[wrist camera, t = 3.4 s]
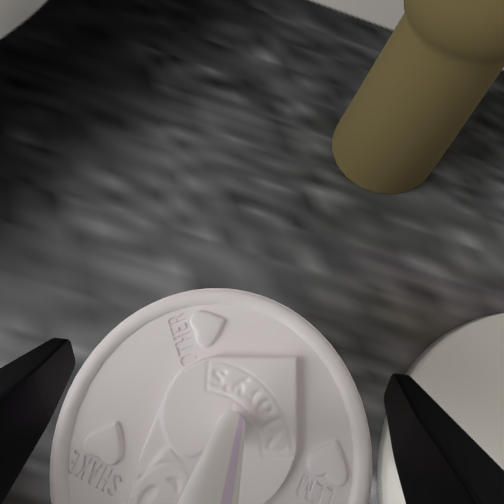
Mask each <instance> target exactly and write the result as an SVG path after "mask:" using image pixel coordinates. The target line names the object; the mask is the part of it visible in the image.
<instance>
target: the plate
mask: <svg viewBox="0 0 504 504" xmlns="http://www.w3.org/2000/svg"><path fill="white" fill-rule="evenodd" d="M405 374H406V375H409V376H410V377H412V378H413V379H414V380H415V381H416V382H417V383H418V384H419V385H420V386H421V387H422V388H423V389H424V390H425V391H426V392H427V393H428V394H429V395H430V396H431V397H432V399H433V400H434V401H435V402H436V403H437V404H438V405H439V406H440V407H441V408H442V409H443V410H444V411H445V412H446V413H447V414H448V415H449V416H450V417H451V418H452V419H453V420H454V421H455V422H456V423H457V424H458V425H459V426H460V427H461V428H462V429H463V430H464V431H465V432H466V433H467V434H468V435H469V436H470V437H471V438H472V439H473V440H474V441H475V442H476V443H477V444H478V445H479V446H480V447H481V448H482V449H483V450H484V451H485V452H486V453H487V454H488V455H489V456H490V457H491V458H492V459H493V460H494V461H495V462H496V463H497V464H498V465H499V466H500V467H501V468H502V469H503V470H504V313H499V314H494V315H490V316H485V317H481V318H477V319H474V320H472V321H469V322H467V323H464V324H461V325H459V326H457V327H456V328H454V329H452V330H450V331H449V332H447V333H445V334H443V335H442V336H441V337H439V338H438V339H437V340H436V341H434V342H433V343H432V344H431V345H429V346H428V347H427V348H426V349H425V350H424V351H423V352H422V353H421V354H420V355H419V356H418V357H417V359H416V360H415V361H414V362H413V363H412V364H411V366H410V367H409V369H408V370H407V372H406V373H405ZM377 488H378V504H406V502H405V498H404V495H403V491H402V487H401V484H400V480H399V476H398V473H397V469H396V465H395V461H394V456H393V451H392V445H391V439H390V433H389V427H388V421H387V415H386V416H385V419H384V422H383V427H382V432H381V437H380V443H379V449H378V463H377Z"/></svg>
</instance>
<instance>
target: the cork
mask: <svg viewBox="0 0 504 504" xmlns="http://www.w3.org/2000/svg"><path fill="white" fill-rule="evenodd" d="M404 10H405V13H404V15H403V16H402V18H401V20H400V21H399V23H398V25H397V27H396V28H395V30H394V31H393V33H392V35H391V36H390V38H389V40H388V41H387V43H386V45H385V46H384V48H383V50H382V51H381V53H380V55H379V56H378V58H377V60H376V61H375V63H374V65H373V66H372V68H371V70H370V71H369V73H368V75H367V76H366V78H365V80H364V81H363V83H362V85H361V86H360V88H359V90H358V91H357V93H356V95H355V96H354V98H353V100H352V101H351V103H350V105H349V106H348V108H347V110H346V111H345V113H344V115H343V116H342V118H341V120H340V121H339V123H338V125H337V127H336V129H335V132H334V134H333V140H332V151H333V154H334V157H335V160H336V164H337V165H338V166H339V168H340V169H341V170H342V172H343V173H344V175H345V176H346V177H347V178H349V179H350V180H351V181H353V182H354V183H355V184H357V185H358V186H359V187H362V188H364V189H367V190H370V191H372V192H375V193H383V194H397V193H402V192H407V191H410V190H412V189H413V188H415V187H417V186H419V185H420V184H422V183H423V182H424V181H425V180H426V178H427V177H428V176H429V175H430V174H431V172H432V171H433V170H434V168H435V167H436V165H437V164H438V162H439V161H440V159H441V158H442V156H443V155H444V153H445V152H446V151H447V149H448V148H449V146H450V145H451V143H452V142H453V140H454V139H455V137H456V136H457V134H458V133H459V132H460V130H461V129H462V127H463V126H464V124H465V123H466V121H467V120H468V118H469V117H470V115H471V114H472V113H473V111H474V110H475V108H476V107H477V105H478V104H479V102H480V101H481V99H482V98H483V97H484V95H485V94H486V92H487V91H488V89H489V88H490V86H491V85H492V83H493V82H494V80H495V79H496V78H497V76H498V75H499V73H500V72H501V70H502V69H503V67H504V0H404Z"/></svg>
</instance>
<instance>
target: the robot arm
mask: <svg viewBox="0 0 504 504" xmlns="http://www.w3.org/2000/svg"><path fill="white" fill-rule="evenodd" d="M74 366H75V357H74V353H73V349H72V345H71V342H70V341H69V340H68V339H62V338H53V339H51V340H49V341H47V342H45V343H44V344H42V345H40V346H38V347H37V348H35V349H33V350H31V351H30V352H28V353H26V354H24V355H23V356H21V357H19V358H17V359H16V360H14V361H12V362H10V363H9V364H7V365H5V366H4V367H2V368H0V504H2V503H3V501H4V499H5V498H6V496H7V494H8V492H9V491H10V489H11V487H12V485H13V484H14V482H15V480H16V479H17V477H18V475H19V473H20V472H21V470H22V468H23V466H24V465H25V463H26V461H27V460H28V458H29V456H30V454H31V453H32V451H33V449H34V448H35V446H36V444H37V442H38V441H39V439H40V437H41V435H42V434H43V432H44V430H45V429H46V427H47V425H48V423H49V421H50V419H51V417H52V415H53V413H54V411H55V409H56V407H57V404H58V402H59V400H60V398H61V396H62V394H63V391H64V389H65V387H66V385H67V383H68V380H69V378H70V376H71V374H72V372H73V369H74ZM384 403H385V409H386V415H387V421H388V427H389V433H390V439H391V445H392V451H393V456H394V461H395V465H396V469H397V473H398V476H399V480H400V484H401V487H402V491H403V495H404V498H405V502H406V504H504V470H503V469H502V468H501V467H500V466H499V465H498V464H497V463H496V462H495V461H494V460H493V459H492V458H491V457H490V456H489V455H488V454H487V453H486V452H485V451H484V450H483V449H482V448H481V447H480V446H479V445H478V444H477V443H476V442H475V441H474V440H473V439H472V438H471V437H470V436H469V435H468V434H467V433H466V432H465V431H464V430H463V429H462V428H461V427H460V426H459V425H458V424H457V423H456V422H455V421H454V420H453V419H452V418H451V417H450V416H449V415H448V414H447V413H446V412H445V411H444V410H443V409H442V408H441V407H440V406H439V405H438V404H437V403H436V402H435V401H434V400H433V399H432V397H431V396H430V395H429V394H428V393H427V392H426V391H425V390H424V389H423V388H422V387H421V386H420V385H419V384H418V383H417V382H416V381H415V380H414V379H413V378H412V377H410V376H409V375H406V374H396V373H395V374H393V375H392V376H391V378H390V381H389V383H388V386H387V388H386V391H385V395H384Z"/></svg>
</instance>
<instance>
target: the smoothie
mask: <svg viewBox="0 0 504 504" xmlns="http://www.w3.org/2000/svg"><path fill="white" fill-rule="evenodd" d="M49 478H50V498H51V504H369V498H370V491H371V481H372V448H371V439H370V432H369V427H368V422H367V417H366V413H365V410H364V407H363V403H362V400H361V397H360V395H359V392H358V390H357V387H356V385H355V382H354V380H353V378H352V376H351V374H350V372H349V370H348V369H347V367H346V365H345V364H344V362H343V361H342V359H341V357H340V356H339V355H338V353H337V352H336V350H335V349H334V348H333V346H332V345H331V344H330V343H329V342H328V341H327V339H326V338H325V337H324V336H323V335H322V334H321V333H320V332H319V331H318V330H317V329H316V328H315V327H314V326H313V325H312V324H311V323H309V322H308V321H307V320H305V319H304V318H303V317H301V316H300V315H299V314H297V313H296V312H294V311H293V310H291V309H289V308H288V307H286V306H284V305H282V304H280V303H278V302H276V301H274V300H272V299H269V298H267V297H264V296H261V295H258V294H254V293H251V292H247V291H241V290H235V289H224V288H206V289H198V290H191V291H186V292H182V293H178V294H174V295H171V296H168V297H165V298H163V299H160V300H158V301H156V302H153V303H151V304H149V305H148V306H146V307H144V308H142V309H140V310H138V311H137V312H135V313H134V314H132V315H131V316H129V317H128V318H126V319H125V320H124V321H123V322H121V323H120V324H119V325H118V326H117V327H115V328H114V329H113V330H112V331H111V332H110V333H109V334H108V335H107V336H106V337H105V338H104V339H103V340H102V341H101V342H100V343H99V344H98V346H97V347H96V348H95V349H94V350H93V351H92V353H91V354H90V356H89V357H88V358H87V360H86V361H85V362H84V364H83V365H82V367H81V369H80V370H79V372H78V374H77V375H76V377H75V379H74V381H73V383H72V385H71V387H70V389H69V391H68V393H67V395H66V398H65V400H64V403H63V405H62V408H61V411H60V414H59V417H58V421H57V424H56V428H55V433H54V437H53V442H52V450H51V457H50V477H49Z"/></svg>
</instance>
